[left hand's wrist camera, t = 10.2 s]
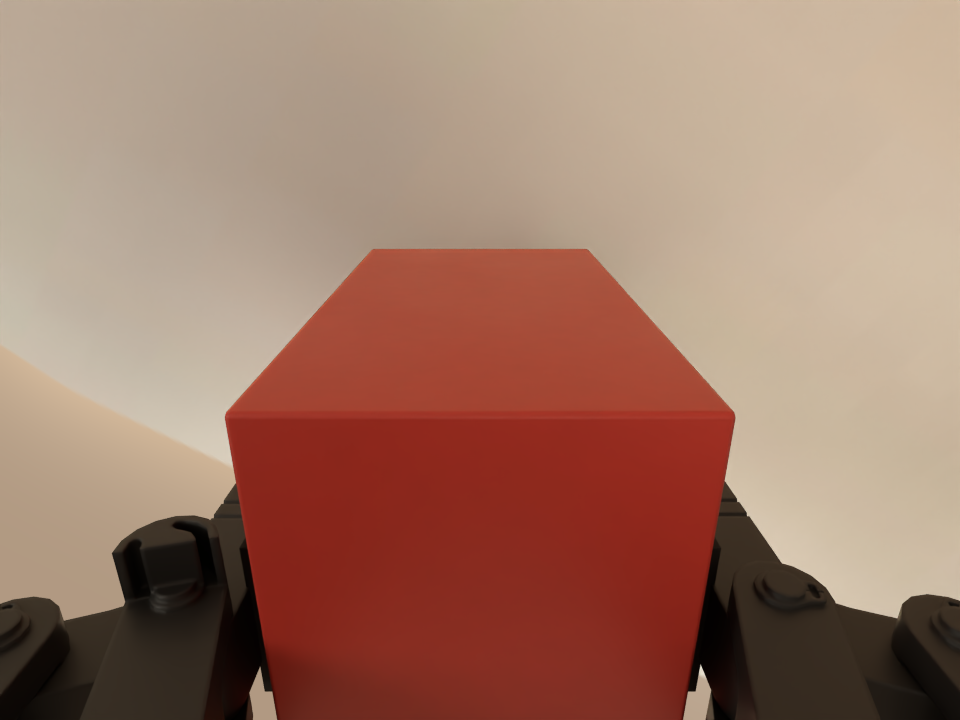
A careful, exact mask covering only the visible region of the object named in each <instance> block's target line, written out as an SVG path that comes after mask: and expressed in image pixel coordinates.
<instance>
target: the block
mask: <svg viewBox="0 0 960 720" xmlns="http://www.w3.org/2000/svg"><path fill="white" fill-rule="evenodd" d="M225 421H226V427H227V433H228V439H229V444H230V450H231V456H232V462H233V467H234V473H235V479H236V485H237V490H238V496H239V502H240V508H241V513H242V519H243V525H244V531H245V536H246V542H247V548H248V554H249V559H250V565H251V571H252V577H253V583H254V588H255V594H256V600H257V606H258V611H259V617H260V623H261V629H262V634H263V640H264V646H265V652H266V657H267V663H268V669H269V675H270V680H271V686H272V692H273V698H274V704H275V709H276V715H277V720H683V716H684V711H685V705H686V699H687V694H688V688H689V682H690V676H691V671H692V665H693V659H694V653H695V648H696V642H697V636H698V630H699V624H700V619H701V613H702V607H703V601H704V596H705V590H706V584H707V578H708V573H709V567H710V561H711V555H712V550H713V544H714V538H715V532H716V527H717V521H718V515H719V509H720V504H721V498H722V492H723V486H724V481H725V475H726V469H727V463H728V458H729V452H730V446H731V440H732V435H733V429H734V423H735V414H734V412H733V411H732V409H731V408H730V407H729V406H728V405H727V404H726V403H725V402H724V401H723V399H722V398H721V397H720V396H719V395H718V394H717V393H716V392H715V391H714V389H713V388H712V387H711V386H710V385H709V384H708V383H707V382H706V380H705V379H704V378H703V377H702V376H701V375H700V374H699V373H698V372H697V370H696V369H695V368H694V367H693V366H692V365H691V364H690V363H689V362H688V360H687V359H686V358H685V357H684V356H683V355H682V354H681V353H680V352H679V350H678V349H677V348H676V347H675V346H674V345H673V344H672V343H671V342H670V340H669V339H668V338H667V337H666V336H665V335H664V334H663V333H662V332H661V330H660V329H659V328H658V327H657V326H656V325H655V324H654V323H653V322H652V320H651V319H650V318H649V317H648V316H647V315H646V314H645V313H644V311H643V310H642V309H641V308H640V307H639V306H638V305H637V304H636V303H635V301H634V300H633V299H632V298H631V297H630V296H629V295H628V294H627V293H626V291H625V290H624V289H623V288H622V287H621V286H620V285H619V284H618V283H617V281H616V280H615V279H614V278H613V277H612V276H611V275H610V274H609V273H608V271H607V270H606V269H605V268H604V267H603V266H602V265H601V264H600V263H599V261H598V260H597V259H596V258H595V257H594V256H593V255H592V254H591V252H590V251H589V250H587V249H373V250H371V252H370V253H369V254H368V255H367V256H366V257H365V258H364V259H363V260H362V262H361V263H360V264H359V265H358V266H357V267H356V268H355V269H354V270H353V272H352V273H351V274H350V275H349V276H348V277H347V278H346V279H345V281H344V282H343V283H342V284H341V285H340V286H339V287H338V288H337V289H336V291H335V292H334V293H333V294H332V295H331V296H330V297H329V298H328V299H327V301H326V302H325V303H324V304H323V305H322V306H321V307H320V308H319V309H318V311H317V312H316V313H315V314H314V315H313V316H312V317H311V318H310V320H309V321H308V322H307V323H306V324H305V325H304V326H303V327H302V328H301V330H300V331H299V332H298V333H297V334H296V335H295V336H294V337H293V338H292V340H291V341H290V342H289V343H288V344H287V345H286V346H285V347H284V348H283V350H282V351H281V352H280V353H279V354H278V355H277V356H276V357H275V359H274V360H273V361H272V362H271V363H270V364H269V365H268V366H267V367H266V369H265V370H264V371H263V372H262V373H261V374H260V375H259V376H258V377H257V379H256V380H255V381H254V382H253V383H252V384H251V385H250V386H249V388H248V389H247V390H246V391H245V392H244V393H243V394H242V395H241V396H240V398H239V399H238V400H237V401H236V402H235V403H234V404H233V405H232V406H231V408H230V409H229V410H228V411H227V412H226V415H225Z"/></svg>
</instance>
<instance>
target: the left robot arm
mask: <svg viewBox="0 0 960 720" xmlns="http://www.w3.org/2000/svg"><path fill="white" fill-rule="evenodd" d="M112 555H113V559H114V562H115V566H116V570H117V573H118V577H119V581H120V584H121V588H122V591H123V595H124V599H125V604H124V606H123V607H120V608H116V609H113V610H109V611H105V612H101V613H97V614H92V615H88V616H83V617H79V618H75V619H70V620H66V621H64V620H63V617H62V614H61V611H60V608H59V606H58V605H57V604H55V603H54V602H53V601H52V600H50V599H46V598H39V597H29V598H21V599H14V600H11V601H8V602H5V603H2V604H0V720H253V712H252V705H251V700H250V694H249V692H250V690H251V687H252V685H253V682H254V680H255V677H256V675H257V672H258V670H259V668H260V667H261V673H262V678H263V684H264V689H265V691H272V686H271V680H270V675H269V669H268V663H267V657H266V652H265V646H264V640H263V634H262V629H261V623H260V617H259V611H258V606H257V600H256V594H255V588H254V583H253V577H252V571H251V565H250V559H249V554H248V548H247V542H246V536H245V531H244V525H243V519H242V513H241V508H240V502H239V496H238V490H237V485H236V484H235V485H234V487H233V488H232V490H231V491H230V493H229V494H228V495H227V497H226V498H225V500H224V504H221V506H220V507H219V508H218V510H217V511H216V513H215V514H214V518H212V519H211V520H209V519H206V518H202V517H198V516H175V517H171V518H167V519H163V520H158V521H155V522H153V523H151V524H149V525H146V526H144V527H142V528H140V529H137V530H136V531H134V532H133V533H132V534H130V535H129V536H127V537H126V538H125V539H123V540H122V541H121V542H120V543H119V545H118V546H117V547H116V549H115V550H114V551H113V553H112ZM700 664H701V666H702V669H703V671H704V673H705V676H706V678H707V681H708V683H709V686H710V688H711V694H710V700H709V705H708V710H707V715H706V720H960V601H959V600H955V599H952V598H949V597H943V596H936V595H929V594H926V595H919V596H912V597H910V598H909V599H908V600H907V601H905V602H904V603H903V604H902V607H901V610H900V613H899V616H898V619H897V618H892V617H888V616H884V615H879V614H875V613H870V612H866V611H862V610H857V609H853V608H849V607H846V606H842V605H839V604H836V603H835V601H834V599H833V598H832V596H831V595H830V593H829V592H828V590H827V589H826V587H824V586H823V585H822V584H821V583H819V582H818V581H817V580H816V579H815V578H813V577H812V576H811V575H809V574H807V573H805V572H803V571H801V570H799V569H797V568H795V567H792V566H789V565H785V564H782V563H781V562H780V560H779V559H778V557H777V556H776V554H775V553H774V551H773V550H772V549H771V547H770V546H769V544H768V543H767V541H766V540H765V538H764V537H763V536H762V534H761V533H760V531H759V530H758V528H757V527H756V526H755V524H754V523H753V521H752V520H751V518H750V517H749V516H747V513H746V511H745V510H744V508H743V507H742V505H741V504H740V502H737V498H736V497H735V495H734V494H733V492H732V491H731V490H730V488H729V487H728V485H727V484H726V482H725V481H724V486H723V492H722V498H721V504H720V509H719V515H718V521H717V527H716V532H715V538H714V544H713V550H712V555H711V561H710V567H709V573H708V578H707V584H706V590H705V596H704V601H703V607H702V613H701V619H700V624H699V630H698V636H697V642H696V648H695V653H694V659H693V665H692V671H691V676H690V682H689V688H688V691H696V686H697V680H698V675H699V669H700Z"/></svg>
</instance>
